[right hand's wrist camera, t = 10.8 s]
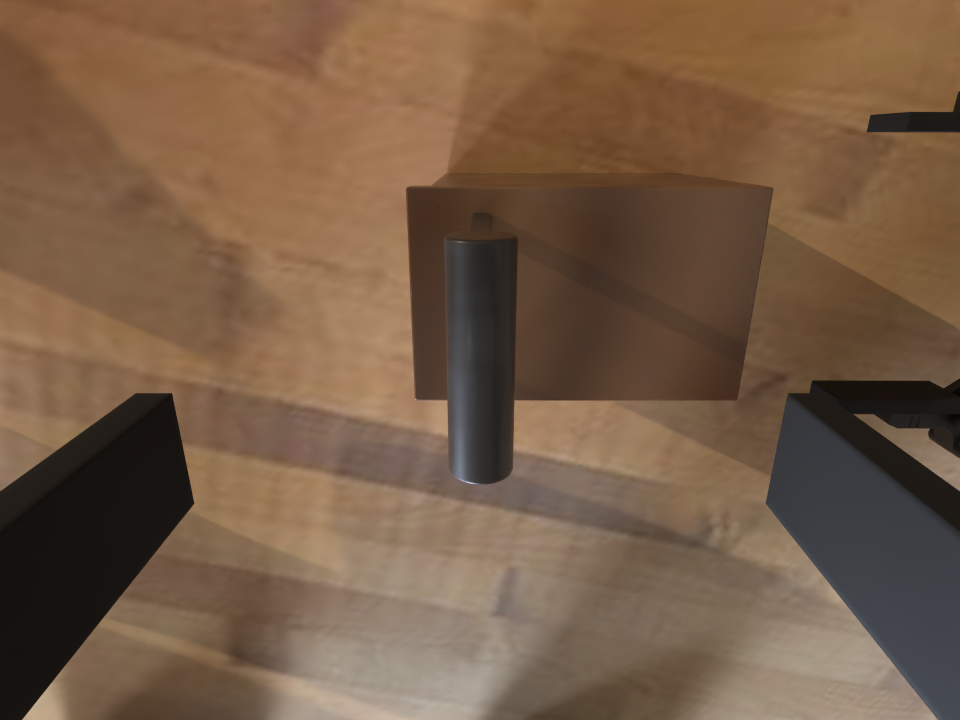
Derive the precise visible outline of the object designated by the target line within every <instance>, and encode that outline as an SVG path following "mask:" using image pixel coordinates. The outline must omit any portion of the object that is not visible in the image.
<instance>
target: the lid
mask: <svg viewBox="0 0 960 720" xmlns="http://www.w3.org/2000/svg"><path fill="white" fill-rule="evenodd" d="M772 193H773V188H772V187H766V186H409V187H407V188H406V201H407V225H408V248H409V271H410V294H411V318H412V341H413V364H414V388H415V400H448V441H449V469H450V472H451V473H452V475H453V476H454V477H455V478H457V479H458V480H460V481H463V482H466V483H470V484H479V485H483V484H492V483H496V482H499V481H501V480H503V479H505V478H507V477H508V476H509V475H510V473H511V471H512V469H513V437H514V400H737V399H738V394H739V388H740V382H741V376H742V370H743V364H744V358H745V352H746V347H747V341H748V335H749V329H750V323H751V317H752V311H753V305H754V299H755V293H756V288H757V282H758V276H759V270H760V264H761V258H762V252H763V246H764V240H765V234H766V229H767V223H768V217H769V211H770V205H771V199H772Z"/></svg>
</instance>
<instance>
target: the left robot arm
mask: <svg viewBox="0 0 960 720" xmlns="http://www.w3.org/2000/svg"><path fill="white" fill-rule="evenodd" d="M867 132H960V92H958V95H957V99H956V103H955V107H954V111H953V112H904V113H891V114H878V115H870V120H869V124H868V129H867ZM810 393H824V394H825V395H827V396H828V397H830V398H831V399H832V400H834V401H835V402H837V403H838V404H839V405H841V406H842V407H843V408H845V409H846V410H848V411H849V412H850V413H852V414H874V415H876V416H877V417H879V418H880V419H882V420H883V421H885V422H886V423H887V424H889V425H891V426H894V427H896V428H930V430H929V432H928V436H929V438H930V439H931V440H932V441H934V442H936V443H937V444H938V445H940V446H942V447H943V448H945V449H946V450H948V451H949V452H951V453H952V454H954V455H955V456H957V457H959V458H960V379H958V380H957V381H955V382H953V383H952V384H950V385H949V386H947V387H945V388H942V387H940V386H938V385H936V384H934V383H932V382H930V381H812V384H811V389H810Z"/></svg>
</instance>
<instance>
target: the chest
mask: <svg viewBox="0 0 960 720" xmlns="http://www.w3.org/2000/svg"><path fill="white" fill-rule="evenodd" d="M432 186H760V185H753V184H746V183H739V182H732V181H725V180H719V179H712V178H705V177H698V176H691V175H684V174H445V175H444V176H443V177H442V178H440V179H439V180H438V181H437V182H436V183H434V184H433V185H432Z"/></svg>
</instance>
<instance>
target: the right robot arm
mask: <svg viewBox="0 0 960 720" xmlns="http://www.w3.org/2000/svg"><path fill="white" fill-rule="evenodd" d="M193 504H194V500H193V495H192V490H191V485H190V480H189V475H188V470H187V465H186V460H185V455H184V450H183V446H182V441H181V436H180V431H179V426H178V421H177V416H176V411H175V406H174V401H173V396H172V393H136V394H135V395H133V396H132V397H130V398H129V399H128V400H126V401H125V402H123V403H122V404H121V405H119V406H118V407H117V408H115V409H114V410H112V411H111V412H110V413H108V414H107V415H105V416H104V417H103V418H101V419H100V420H99V421H97V422H96V423H94V424H93V425H92V426H90V427H89V428H87V429H86V430H85V431H83V432H82V433H81V434H79V435H78V436H76V437H75V438H74V439H72V440H71V441H69V442H68V443H67V444H65V445H64V446H63V447H61V448H60V449H58V450H57V451H56V452H54V453H53V454H51V455H50V456H49V457H47V458H46V459H45V460H43V461H42V462H40V463H39V464H38V465H36V466H35V467H33V468H32V469H31V470H29V471H28V472H27V473H25V474H24V475H22V476H21V477H20V478H18V479H17V480H15V481H14V482H13V483H11V484H10V485H9V486H7V487H6V488H4V489H3V490H2V491H0V720H22V719H23V718H24V717H25V715H26V714H27V713H28V712H29V710H30V709H31V708H32V706H33V705H34V704H35V703H36V701H37V700H38V699H39V698H40V696H41V695H42V694H43V693H44V691H45V690H46V689H47V688H48V686H49V685H50V684H51V683H52V681H53V680H54V679H55V678H56V676H57V675H58V674H59V673H60V671H61V670H62V669H63V668H64V666H65V665H66V664H67V663H68V661H69V660H70V659H71V658H72V656H73V655H74V654H75V653H76V651H77V650H78V649H79V648H80V646H81V645H82V644H83V642H84V641H85V640H86V639H87V637H88V636H89V635H90V634H91V632H92V631H93V630H94V629H95V627H96V626H97V625H98V624H99V622H100V621H101V620H102V619H103V617H104V616H105V615H106V614H107V612H108V611H109V610H110V609H111V607H112V606H113V605H114V604H115V602H116V601H117V600H118V599H119V597H120V596H121V595H122V594H123V592H124V591H125V590H126V589H127V587H128V586H129V585H130V584H131V582H132V581H133V580H134V578H135V577H136V576H137V575H138V573H139V572H140V571H141V570H142V568H143V567H144V566H145V565H146V563H147V562H148V561H149V560H150V558H151V557H152V556H153V555H154V553H155V552H156V551H157V550H158V548H159V547H160V546H161V545H162V543H163V542H164V541H165V540H166V538H167V537H168V536H169V535H170V533H171V532H172V531H173V530H174V528H175V527H176V526H177V525H178V523H179V522H180V521H181V520H182V518H183V517H184V516H185V514H186V513H187V512H188V511H189V509H190V508H191V507H192V506H193ZM766 504H767V506H768V507H769V508H770V509H771V511H772V512H773V513H774V514H775V516H776V517H777V518H778V520H779V521H780V522H781V523H782V525H783V526H784V527H785V528H786V530H787V531H788V532H789V533H790V535H791V536H792V537H793V538H794V540H795V541H796V542H797V543H798V545H799V546H800V547H801V548H802V550H803V551H804V552H805V553H806V555H807V556H808V557H809V558H810V560H811V561H812V562H813V563H814V565H815V566H816V567H817V568H818V570H819V571H820V572H821V573H822V575H823V576H824V577H825V578H826V580H827V581H828V582H829V584H830V585H831V586H832V587H833V589H834V590H835V591H836V592H837V594H838V595H839V596H840V597H841V599H842V600H843V601H844V602H845V604H846V605H847V606H848V607H849V609H850V610H851V611H852V612H853V614H854V615H855V616H856V617H857V619H858V620H859V621H860V622H861V624H862V625H863V626H864V627H865V629H866V630H867V631H868V632H869V634H870V635H871V636H872V637H873V639H874V640H875V641H876V642H877V644H878V645H879V646H880V648H881V649H882V650H883V651H884V653H885V654H886V655H887V656H888V658H889V659H890V660H891V661H892V663H893V664H894V665H895V666H896V668H897V669H898V670H899V671H900V673H901V674H902V675H903V676H904V678H905V679H906V680H907V681H908V683H909V684H910V685H911V686H912V688H913V689H914V690H915V691H916V693H917V694H918V695H919V696H920V698H921V699H922V700H923V701H924V703H925V704H926V705H927V706H928V708H929V709H930V710H931V712H932V713H933V714H934V715H935V717H936V718H937V719H938V720H960V491H958V490H957V489H956V488H954V487H953V486H951V485H950V484H949V483H947V482H946V481H945V480H943V479H942V478H940V477H939V476H938V475H936V474H935V473H933V472H932V471H931V470H929V469H928V468H927V467H925V466H924V465H922V464H921V463H920V462H918V461H917V460H915V459H914V458H913V457H911V456H910V455H909V454H907V453H906V452H904V451H903V450H902V449H900V448H899V447H897V446H896V445H895V444H893V443H892V442H891V441H889V440H888V439H886V438H885V437H884V436H882V435H881V434H879V433H878V432H877V431H875V430H874V429H873V428H871V427H870V426H868V425H867V424H866V423H864V422H863V421H861V420H860V419H859V418H857V417H856V416H855V415H853V414H852V413H850V412H849V411H848V410H846V409H845V408H843V407H842V406H841V405H839V404H838V403H837V402H835V401H834V400H832V399H831V398H830V397H828V396H827V395H825V394H824V393H788V396H787V401H786V406H785V411H784V416H783V421H782V426H781V431H780V436H779V441H778V446H777V450H776V455H775V460H774V465H773V470H772V475H771V480H770V485H769V490H768V495H767V500H766Z"/></svg>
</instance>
